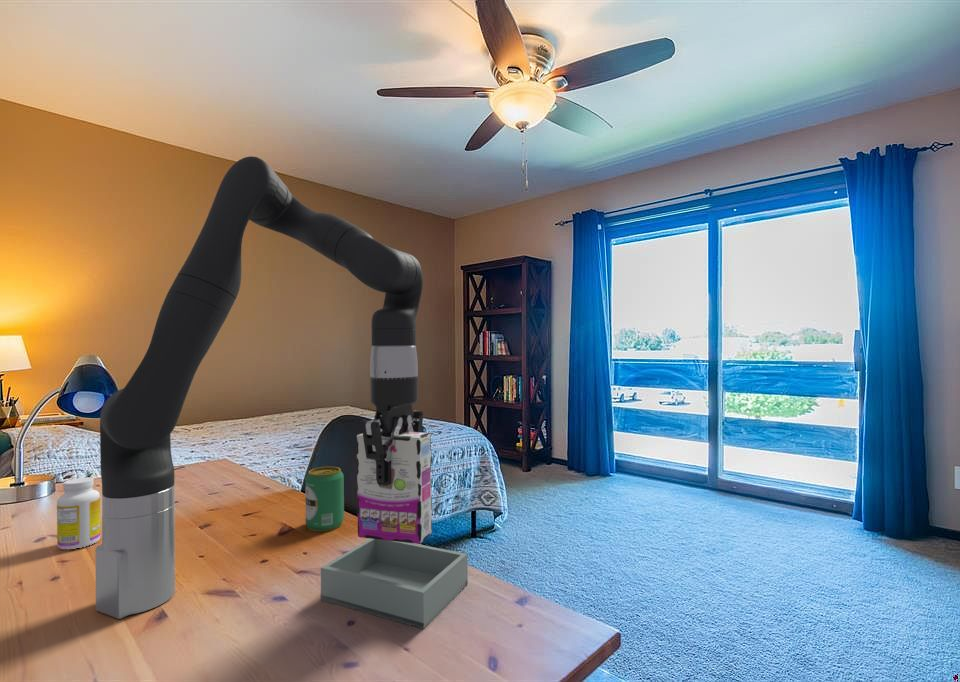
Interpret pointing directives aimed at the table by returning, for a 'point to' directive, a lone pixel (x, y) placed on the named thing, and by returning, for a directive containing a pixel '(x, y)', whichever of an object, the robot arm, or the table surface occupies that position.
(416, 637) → the table surface
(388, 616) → the bin
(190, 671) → the table surface
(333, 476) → the beverage can
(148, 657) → the table surface
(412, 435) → the candy bar box
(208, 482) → the table surface
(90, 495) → the supplement bottle
